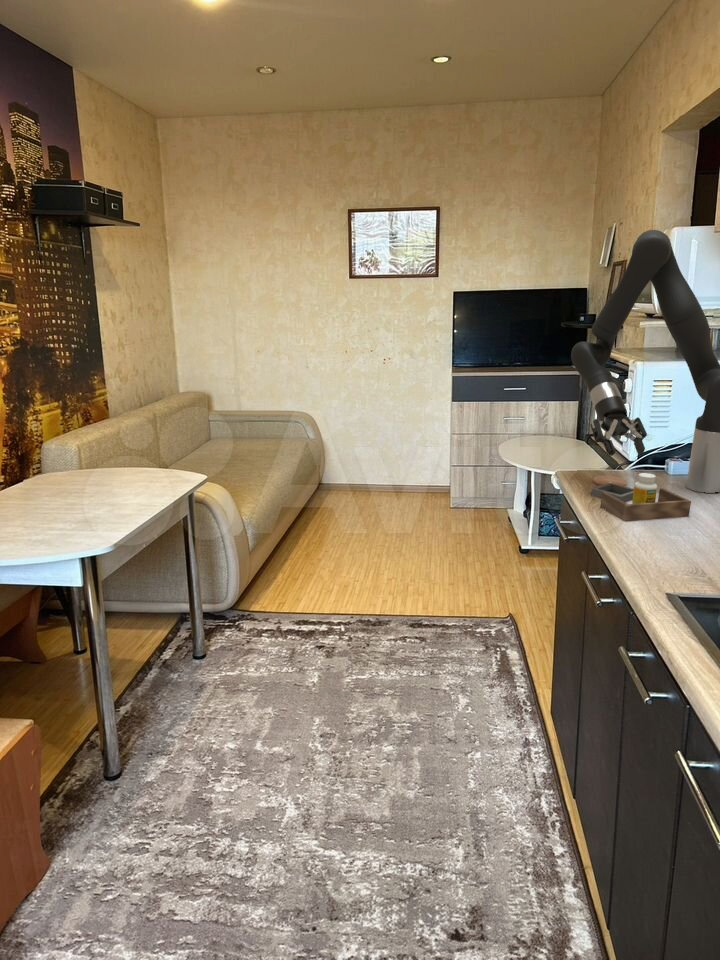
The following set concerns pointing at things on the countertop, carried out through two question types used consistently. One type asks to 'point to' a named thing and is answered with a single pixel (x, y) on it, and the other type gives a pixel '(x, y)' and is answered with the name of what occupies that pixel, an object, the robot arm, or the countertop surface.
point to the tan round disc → (609, 480)
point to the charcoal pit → (614, 491)
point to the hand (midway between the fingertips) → (627, 453)
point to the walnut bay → (648, 507)
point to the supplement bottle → (645, 489)
